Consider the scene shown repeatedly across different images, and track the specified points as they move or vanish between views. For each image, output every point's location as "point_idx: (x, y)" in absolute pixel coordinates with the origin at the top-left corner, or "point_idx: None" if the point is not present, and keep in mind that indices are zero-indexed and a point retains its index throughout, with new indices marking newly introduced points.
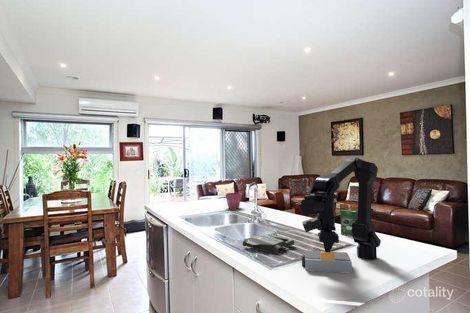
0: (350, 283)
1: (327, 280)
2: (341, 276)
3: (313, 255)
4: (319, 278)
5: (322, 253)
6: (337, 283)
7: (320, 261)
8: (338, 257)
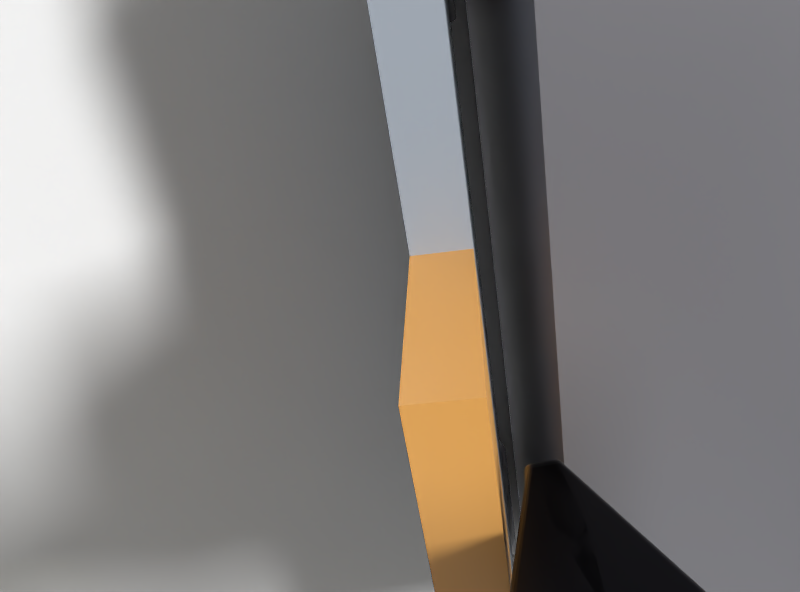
0: (204, 539)
1: (149, 268)
2: (398, 434)
3: (774, 1)
4: (165, 130)
5: (407, 440)
6: (114, 406)
7: (412, 234)
8: (691, 569)
